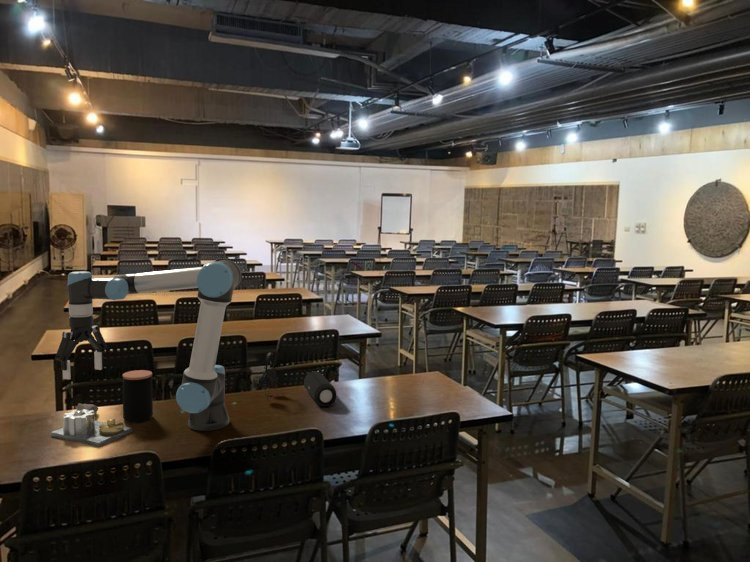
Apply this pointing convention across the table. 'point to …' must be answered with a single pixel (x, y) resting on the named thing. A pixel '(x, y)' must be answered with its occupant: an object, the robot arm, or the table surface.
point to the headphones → (267, 374)
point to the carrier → (96, 432)
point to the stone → (87, 407)
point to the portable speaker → (320, 388)
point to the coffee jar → (137, 396)
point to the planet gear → (78, 422)
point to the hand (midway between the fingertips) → (83, 374)
